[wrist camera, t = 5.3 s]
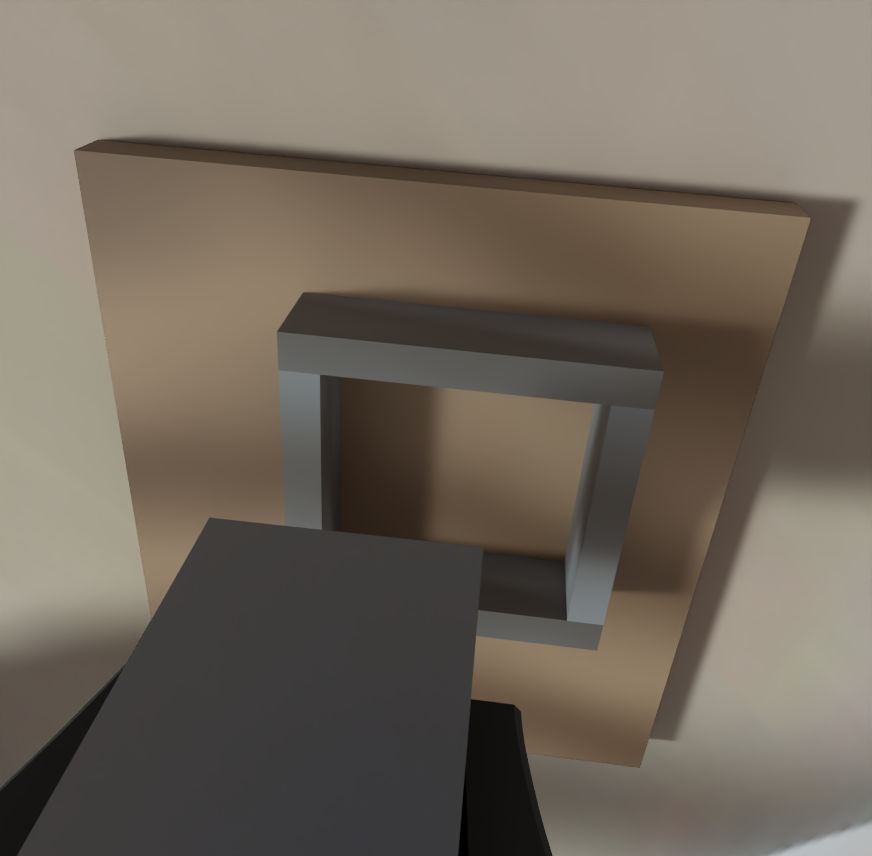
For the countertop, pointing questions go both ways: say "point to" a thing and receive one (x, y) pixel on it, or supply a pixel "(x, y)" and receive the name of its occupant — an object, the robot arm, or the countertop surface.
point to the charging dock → (447, 389)
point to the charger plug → (284, 705)
